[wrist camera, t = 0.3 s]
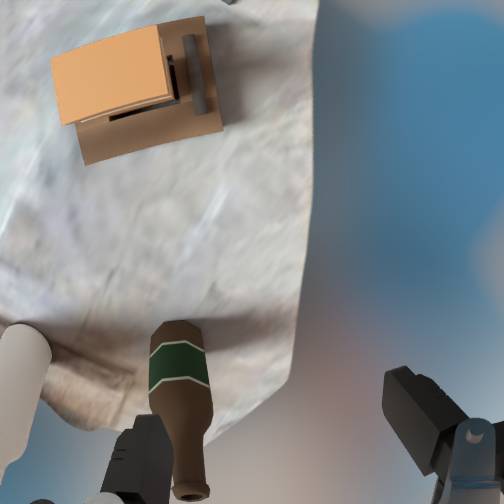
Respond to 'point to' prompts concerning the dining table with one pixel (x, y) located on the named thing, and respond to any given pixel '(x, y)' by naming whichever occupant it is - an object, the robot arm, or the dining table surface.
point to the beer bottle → (182, 402)
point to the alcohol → (20, 387)
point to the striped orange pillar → (112, 76)
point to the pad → (227, 1)
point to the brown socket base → (170, 117)
